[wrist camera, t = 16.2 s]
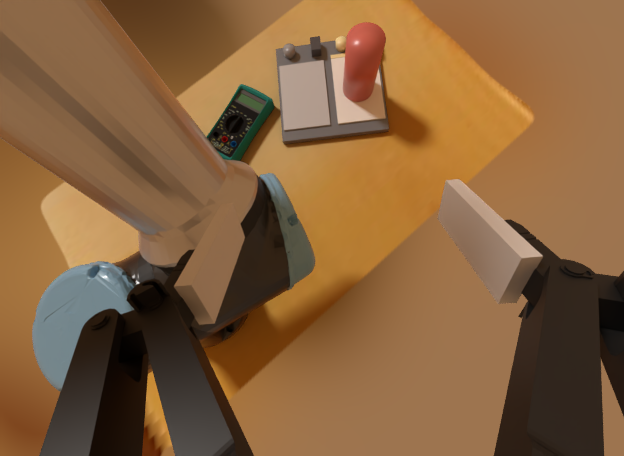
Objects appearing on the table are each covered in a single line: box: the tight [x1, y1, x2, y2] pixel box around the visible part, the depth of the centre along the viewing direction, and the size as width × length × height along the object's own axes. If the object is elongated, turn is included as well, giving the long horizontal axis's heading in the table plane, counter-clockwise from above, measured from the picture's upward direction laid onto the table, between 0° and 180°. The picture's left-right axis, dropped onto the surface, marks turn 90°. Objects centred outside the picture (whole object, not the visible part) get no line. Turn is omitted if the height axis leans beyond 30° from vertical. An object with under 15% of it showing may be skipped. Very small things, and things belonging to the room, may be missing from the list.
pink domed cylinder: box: [343, 22, 386, 102], centre depth 40 cm, size 6×6×10 cm
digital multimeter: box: [206, 84, 275, 161], centre depth 46 cm, size 7×15×3 cm, turn 149°
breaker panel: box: [276, 36, 389, 144], centre depth 46 cm, size 19×19×3 cm
